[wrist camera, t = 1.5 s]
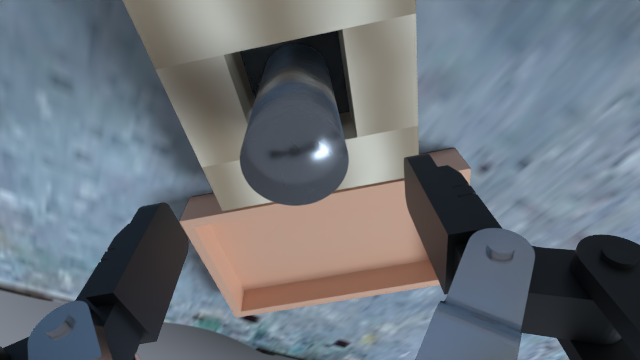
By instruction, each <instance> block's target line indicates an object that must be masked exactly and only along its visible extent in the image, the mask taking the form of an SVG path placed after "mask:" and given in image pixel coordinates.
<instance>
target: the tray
mask: <svg viewBox="0 0 640 360" xmlns="http://www.w3.org/2000/svg"><path fill="white" fill-rule="evenodd" d="M429 154H430V156H431V157H432V159H433V160H434V162H435V163H436V165H437V166H438V167H440V166H445V165H448V166H450V167H452V168H454V169H455V170H457V171H459V172H460V173H461V174H462V175H463V176H464V178H465V179H466V180H467V182H468V183H469V185H470V174H471V168H470V167H469V165H468V164H467V163H466V161H465V160H464V159H463V158H462V156H461V155H460V154H459V152H458V151H457V150H456V149H455V148H452V149H446V150H441V151H436V152H430V153H429ZM179 222H180V224H181V225H182V227H183V229H184V230H185V232H186V234H187V235H188V237H189V239H190V241H191V242H192V244H193V246H194V247H195V249H196V251H197V252H198V254H199V256H200V258H201V259H202V261H203V263H204V264H205V266H206V268H207V269H208V271H209V273H210V274H211V276H212V278H213V280H214V281H215V283H216V285H217V286H218V288H219V290H220V291H221V293H222V295H223V297H224V298H225V300H226V302H227V303H228V305H229V307H230V308H231V310H232V312H233V314H234V315H235V317H242V316H248V315H255V314H261V313H267V312H273V311H280V310H286V309H292V308H298V307H305V306H311V305H317V304H323V303H330V302H336V301H342V300H348V299H354V298H361V297H367V296H373V295H379V294H386V293H392V292H398V291H404V290H411V289H417V288H423V287H429V286H436V285H440V283H439V280H438V278H437V276H436V274H435V271H434V269H433V267H432V264H431V262H430V260H429V257H428V255H427V253H426V251H425V248H424V246H423V244H422V241H421V239H420V237H419V234H418V232H417V230H416V227H415V225H414V223H413V221H412V218H411V216H410V214H409V211H408V208H407V204H406V198H405V182H404V178H401V179H396V180H390V181H385V182H379V183H374V184H368V185H363V186H357V187H352V188H346V189H341V190H335V191H334V192H333V193H332V194H330V195H329V196H327V197H326V198H324V199H322V200H320V201H318V202H315V203H312V204H307V205H300V206H290V205H283V204H278V203H275V202H270V203H264V204H259V205H253V206H248V207H243V208H237V209H232V210H226V211H222V209H221V207H220V205H219V202H218V200H217V198H216V196H215V194H214V193H211V194H206V195H200V196H195V197H190V198H189V201H188V203H187V205H186V208H185V210H184V212H183V214H182V217H181V219H180V221H179Z"/></svg>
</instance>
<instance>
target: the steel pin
mask: <svg viewBox="0 0 640 360" xmlns="http://www.w3.org/2000/svg"><path fill="white" fill-rule="evenodd" d="M348 164H349V156H348V150H347V146H346V142H345V138H344V134H343V129H342V125H341V121H340V117H339V113H338V108H337V104H336V100H335V96H334V92H333V88H332V83H331V79H330V75H329V71H328V67H327V64H326V62H325V60H324V58H323V57H322V56H321V54H320V53H319V52H318V51H316V50H315V49H314V48H312V47H310V46H308V45H305V44H300V43H291V44H286V45H284V46H281V47H279V48H278V49H276V50H275V51H274V52H273V53H272V54H271V55H270V57H269V58H268V60H267V62H266V65H265V68H264V71H263V75H262V78H261V82H260V85H259V88H258V92H257V95H256V99H255V102H254V106H253V109H252V113H251V116H250V119H249V123H248V126H247V130H246V133H245V137H244V140H243V144H242V147H241V151H240V167H241V170H242V174H243V176H244V178H245V180H246V181H247V183H248V184H249V185H250V187H251V188H252V189H253V190H254V191H255V192H257V193H258V194H259V195H261V196H262V197H264V198H266V199H267V200H270V201H272V202H275V203H278V204H283V205H290V206H300V205H307V204H312V203H315V202H318V201H320V200H322V199H324V198H326V197H327V196H329V195H330V194H332V193H333V192H334V191H335V190H336V189H337V188H338V187H339V186H340V184H341V183H342V181H343V180H344V178H345V176H346V173H347V170H348Z"/></svg>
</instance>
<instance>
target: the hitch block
mask: <svg viewBox="0 0 640 360" xmlns="http://www.w3.org/2000/svg"><path fill="white" fill-rule="evenodd" d="M123 3H124V5H125V7H126V9H127V11H128V13H129V15H130V17H131V19H132V21H133V24H134V26H135V28H136V30H137V32H138V34H139V36H140V38H141V40H142V43H143V45H144V47H145V49H146V51H147V53H148V55H149V57H150V59H151V61H152V64H153V66H154V68H155V70H156V72H157V74H158V76H159V78H160V80H161V83H162V85H163V87H164V89H165V91H166V93H167V95H168V97H169V99H170V101H171V104H172V106H173V108H174V110H175V112H176V114H177V116H178V118H179V120H180V122H181V125H182V127H183V129H184V131H185V133H186V135H187V137H188V139H189V141H190V144H191V146H192V148H193V150H194V152H195V154H196V156H197V158H198V160H199V162H200V165H201V167H202V169H203V171H204V173H205V175H206V177H207V179H208V181H209V184H210V186H211V188H212V190H213V192H214V194H215V196H216V198H217V200H218V202H219V205H220V207H221V209H222V211H226V210H232V209H237V208H243V207H248V206H253V205H259V204H264V203H270V202H272V201H270V200H267V199H266V198H264V197H262V196H261V195H259V194H258V193H257V192H255V191H254V190H253V189H252V188H251V187H250V185H249V184H248V183H247V181H246V180H245V178H244V176H243V174H242V170H241V167H240V151H241V147H242V144H243V140H244V137H245V133H246V130H247V126H248V123H249V119H250V116H251V113H252V109H253V106H254V102H255V98H254V95H253V92H252V89H251V86H250V83H249V80H248V76H247V73H246V70H245V67H244V64H243V61H242V58H241V54H240V51H244V50H248V49H253V48H258V47H262V46H267V45H271V44H276V43H281V42H285V41H290V40H295V39H299V38H304V37H309V36H313V35H318V34H323V33H327V32H332V31H337V30H338V36H339V43H340V50H341V57H342V63H343V70H344V77H345V84H346V90H347V97H348V104H349V111H350V112H345V113H340V114H339V117H340V121H341V125H342V129H343V134H344V138H345V142H346V146H347V150H348V156H349V164H348V170H347V173H346V176H345V178H344V180H343V181H342V183H341V184H340V186H339V187H338V188H337V189H336V190H341V189H346V188H352V187H357V186H363V185H368V184H374V183H379V182H385V181H390V180H396V179H401V178H404V158H405V157H409V156H414V155H419V141H418V90H417V40H416V0H123Z"/></svg>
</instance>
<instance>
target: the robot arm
mask: <svg viewBox="0 0 640 360" xmlns="http://www.w3.org/2000/svg"><path fill="white" fill-rule="evenodd" d="M404 182H405V198H406V204H407V208H408V211H409V214H410V216H411V218H412V221H413V223H414V225H415V227H416V230H417V232H418V234H419V237H420V239H421V241H422V244H423V246H424V248H425V251H426V253H427V255H428V257H429V260H430V262H431V264H432V267H433V269H434V271H435V274H436V276H437V278H438V280H439V283H440V285H441V287H442V290H443V292H444V294H447V297H446V299H445V301H444V302H443V301H440V302H439V304H438V306H437V308H436V310H435V312H434V314H433V317H432V319H431V322H430V324H429V327H428V329H427V332H426V334H425V337H424V339H423V342H422V344H421V347H420V349H419V351H418V354H417V356H416V359H415V360H517V357H518V352H519V347H520V342H521V335H522V333H527V334H534V335H541V336H547V337H554V338H557V339H558V341H559V342H560V344H561V346H562V347H563V349H564V351H565V352H566V354H567V356H568V357H569V359H570V360H640V245H639V244H637V243H635V242H632V241H630V240H627V239H624V238H621V237H617V236H611V235H593V236H588V237H586V238H584V239H582V240H581V241H580V242H579V243H578V245H577V248H576V250H565V249H552V248H541V247H535V246H531V244H530V243H529V242H528V241H527V240H526V239H525V238H523V237H522V236H520V235H519V234H517V233H515V232H512V231H509V230H506V229H502V227H501V226H500V225H499V223H498V222H497V221H496V219H495V218H494V217H493V215H492V214H491V213H490V211H489V210H488V209H487V207H486V206H485V205H484V203H483V202H482V200H481V199H480V198H479V196H478V195H476V193H475V191H474V190H473V188H472V187H471V186H469V183H468V182H467V180H466V179H465V178H464V176H463V175H462V174H461V173H460V172H459V171H457V170H455V169H454V168H452V167H450V166H448V165H445V166H440V167H438V166H437V165H436V163H435V162H434V160H433V159H432V157H431V156H430V154H429V153H425V154H419V155H414V156H409V157H405V158H404ZM187 253H188V239H187V236H186V234H185V232H184V230H183V228H182V227H181V225H180V223H179V222H178V220H177V218H176V216H175V215H174V213H173V211H172V210H171V208H170V206H169V205H168V204H167V203H158V204H153V205H147V206H142V207H140V208H139V209H138V211H137V212H136V214H135V216H134V217H133V219H132V221H131V223H130V224H128V225H127V226H126V227H125V228H124V229H122V230H121V231H120V232H119V233H118V234H117V235H116V236H115V238H114V239H113V241H112V242H111V244H110V246H109V247H108V251H107V252H105V254H104V255H103V257H102V259H101V262H99V263H98V265H97V267H96V268H95V270H94V271H93V273H92V275H91V276H90V278H89V280H88V281H87V283H86V284H85V286H84V288H83V289H82V291H81V292H80V294H79V296H78V297H77V299H76V300H75V301H72V302H69V303H66V304H64V305H62V306H60V307H58V308H56V309H55V310H53V311H52V312H50V313H49V314H48V315H46V316H45V317H44V318H43V319H42V320H41V321H40V322H39V323H38V324H37V325H36V327H35V328H34V329H33V331H32V332H31V334H30V336H29V337H27V338H25V339H23V340H21V341H18V342H16V343H14V344H11V345H9V346H7V347H5V348H2V347H0V360H141V358H140V357H139V355H138V354H137V353H136V351H137V349H138V346H139V344H143V343H149V342H155V341H157V339H158V336H159V333H160V330H161V327H162V324H163V321H164V319H165V316H166V313H167V310H168V307H169V304H170V301H171V299H172V296H173V293H174V290H175V287H176V284H177V281H178V279H179V276H180V273H181V270H182V267H183V264H184V261H185V259H186V256H187Z"/></svg>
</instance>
